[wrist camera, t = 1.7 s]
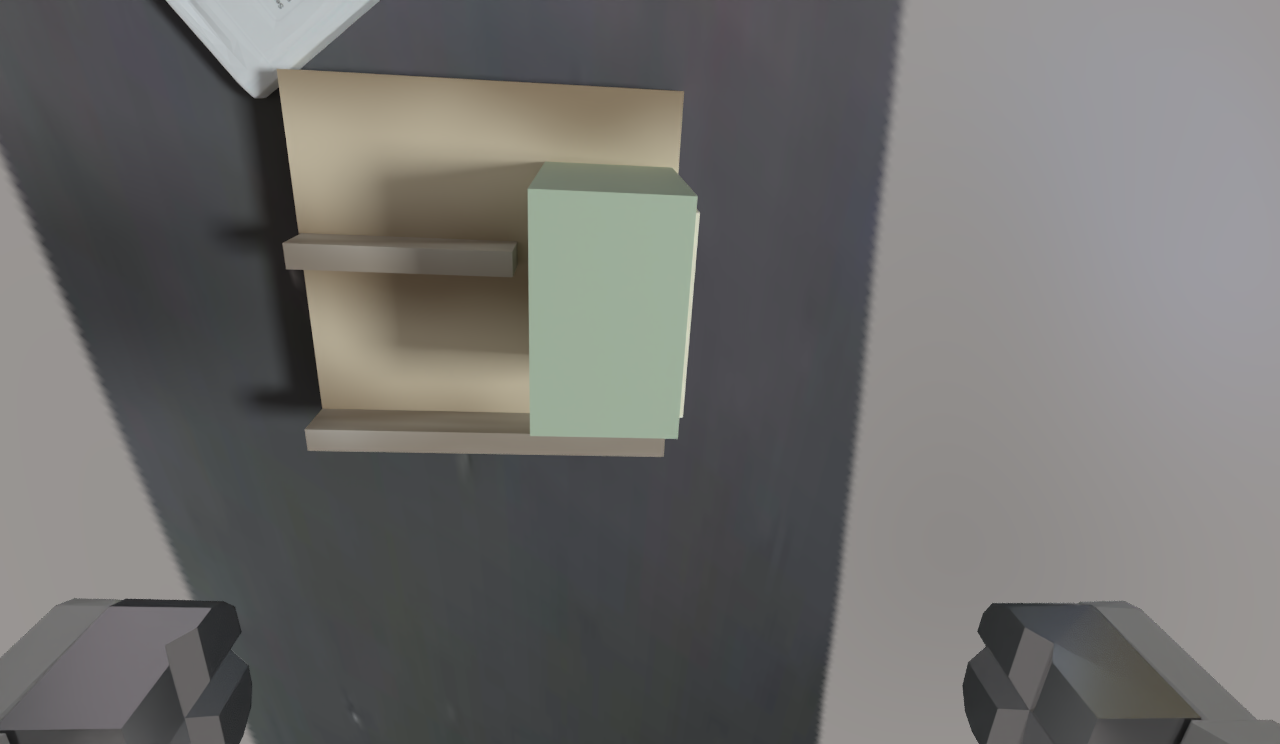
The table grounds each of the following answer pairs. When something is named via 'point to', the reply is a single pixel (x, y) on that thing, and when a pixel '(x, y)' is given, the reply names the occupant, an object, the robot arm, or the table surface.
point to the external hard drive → (267, 33)
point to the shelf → (440, 247)
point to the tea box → (609, 299)
